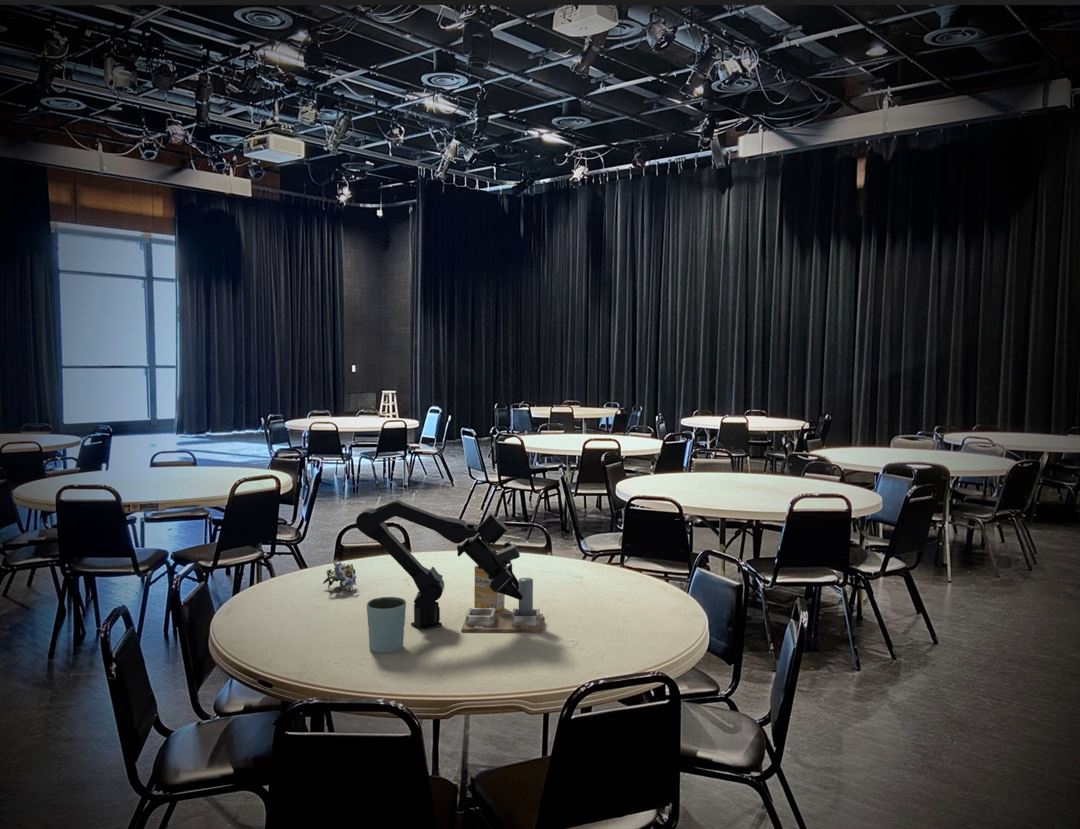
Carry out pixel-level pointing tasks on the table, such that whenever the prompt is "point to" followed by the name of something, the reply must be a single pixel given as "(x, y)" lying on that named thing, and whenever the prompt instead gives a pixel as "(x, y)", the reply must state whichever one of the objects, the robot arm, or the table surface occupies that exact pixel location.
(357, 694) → the table surface
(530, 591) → the plug
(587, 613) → the table surface
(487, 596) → the supplement box
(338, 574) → the passion flower
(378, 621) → the light blue cup
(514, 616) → the socket board
